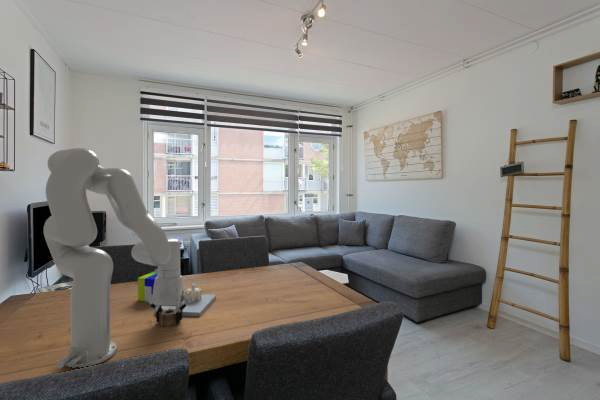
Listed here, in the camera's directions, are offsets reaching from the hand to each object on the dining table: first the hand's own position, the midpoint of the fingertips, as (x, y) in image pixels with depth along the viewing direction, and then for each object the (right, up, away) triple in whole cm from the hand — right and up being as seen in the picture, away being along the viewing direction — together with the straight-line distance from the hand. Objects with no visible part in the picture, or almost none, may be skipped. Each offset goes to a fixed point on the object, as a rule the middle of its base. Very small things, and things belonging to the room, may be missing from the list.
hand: (169, 320), depth 108 cm
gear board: (+1, 0, +16) cm, 16 cm away
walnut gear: (0, -1, 0) cm, 1 cm away
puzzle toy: (-17, 0, +24) cm, 30 cm away
